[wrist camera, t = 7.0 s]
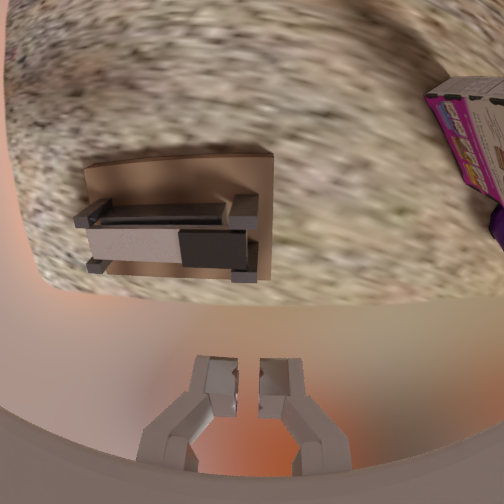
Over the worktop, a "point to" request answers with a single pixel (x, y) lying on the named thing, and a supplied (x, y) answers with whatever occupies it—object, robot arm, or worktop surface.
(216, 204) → the block
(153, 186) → the walnut base plate
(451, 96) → the candy bar box
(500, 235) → the potion bottle
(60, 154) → the worktop surface
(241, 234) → the clamp bar
